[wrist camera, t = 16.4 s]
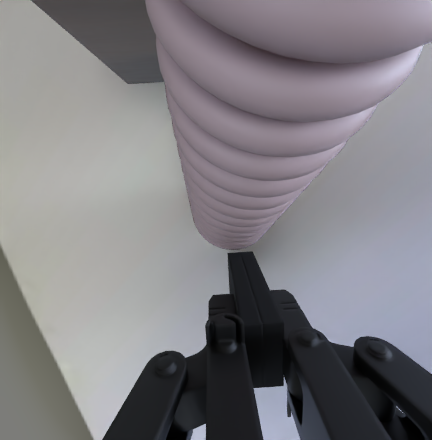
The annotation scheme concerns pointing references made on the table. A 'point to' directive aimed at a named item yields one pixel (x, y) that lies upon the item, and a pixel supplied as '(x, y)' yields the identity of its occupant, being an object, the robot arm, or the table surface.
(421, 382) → the robot arm
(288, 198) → the coil
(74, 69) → the table surface
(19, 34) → the table surface
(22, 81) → the table surface
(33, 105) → the table surface
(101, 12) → the walnut block
